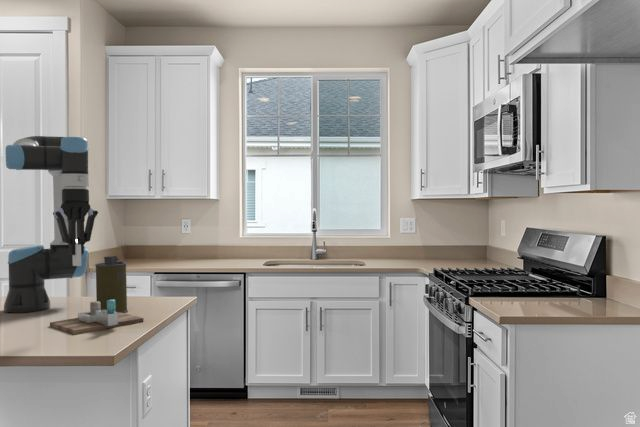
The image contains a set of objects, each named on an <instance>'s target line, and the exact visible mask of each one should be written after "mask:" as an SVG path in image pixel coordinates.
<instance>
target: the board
mask: <svg viewBox="0 0 640 427" xmlns="http://www.w3.org/2000/svg"><path fill="white" fill-rule="evenodd" d="M89 304H90V305H89V306H90V308H89V309H90V310H89V312H90V315H96V311H97V310H101V306H100V301H97V300H95V301H91V302H89ZM116 313H118V324H117V325H112V326H106V325H104V324H101V323H98V322H92V323H86V322H83V321H80V320H78V317H73V318H69V319H62V320H61V319H60V320H56V321H50V322H49V326H50V327H51V328H54V329H58V330H61V331H63V332H66V333H70V334H73V335H79V334H83V333H90V332H94V331H95V332H96V331H99V330H107V329H111V328H117V327H121V326H127V325H132V323H133V324H136V323H137V322H139V323H142V322H141V321H145V320H144V317H143V316H142V317H141V316H137V315H133V314H129V313H126V312H125V313H121V312H117V311H116Z"/></svg>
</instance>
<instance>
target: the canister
mask: <svg viewBox="0 0 640 427" xmlns="http://www.w3.org/2000/svg"><path fill="white" fill-rule="evenodd" d="M103 259H104V260H103V261H104V262H99V263H95V282H96V283H95V288H96V289H95V290H96V291H95V292H96V301H100V306H101V310H104V309H106V310H107V300H110V299H115V306H116V311H117V312H121V313H125V314H126V313H128V311H129V310H128V296H127V294H128V290H127V264H128V263H127V262H125V261H121V260H120V259H119V258H118V256H117V255H106V256H104V257H103Z"/></svg>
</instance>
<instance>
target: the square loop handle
mask: <svg viewBox="0 0 640 427" xmlns="http://www.w3.org/2000/svg"><path fill="white" fill-rule="evenodd" d="M77 318H78V320H80V321H83V322H86V323H92V322H98V323H101V324H104V325H106V326H112V325H117V324H118V313H116V306H115V299H110V300H107V310H106V309H104V310H97V311H96V315H90V311H86V312H80V313H79V312H78V313H77Z"/></svg>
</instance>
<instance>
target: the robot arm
mask: <svg viewBox="0 0 640 427" xmlns="http://www.w3.org/2000/svg"><path fill="white" fill-rule="evenodd" d="M5 167H6V168H7V169H8V170H16V171H21V170H22V171H23V170H24V171H25V170H27V171H28V170H29V171H34V170H36V171H39V170H40V171H41V170H42V171H47V172H48V173H49V174H50V175H51V176H52V183H53V184H52V186H53V188H52V189H53V190H52V191H53V197H52V198H53V212H52V215H53V228H54V229H53V230H54V232H53V233H54V234H53V235H54V236H53V237H54V239H52V241H51V242H50V243H49V248H45V247H44V245H42V244H41V245H31V246H24V247H19V248H15V249H12V250H10V251H9V253H8V257H7V258H8V260H7V265H8V292H7V295H6V298H5V301H4V304H3V312H4V311H5V312H4V313H8V312H12V314H15V313H17V314H19V313H30V312H31V313H32V312H38V311H39V312H40V311H44V310H47V309H50V308H51V300H50V298H49V295H48V293H47V290H46V287H45V280H46V281H47V280H59V279H60V280H61V279H73V278H81V277H82V276H84V275H85V273H86V269H87V264H88V257H89V254H88V253H89V250H88V246H85V244H86V243H88V242H90V241H91V238H92V234H93V229H94V223H95V219H96V217H97V215H98V214H99V211H98V210H94V209H93V208H91V204H90V190H89V188H88V187H89V184H90V183H89V182H90V181H89V178H90V177H89V144H88V139H86V138H85V137H83V136H82V137H80V136H45V135H33V136H28V137H22V138H20V139H17V140H15V141H14V142H13V144H8V145H6V146H5ZM86 215H87V218H86ZM85 218H86V220H85ZM85 221H86V223H85Z"/></svg>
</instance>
